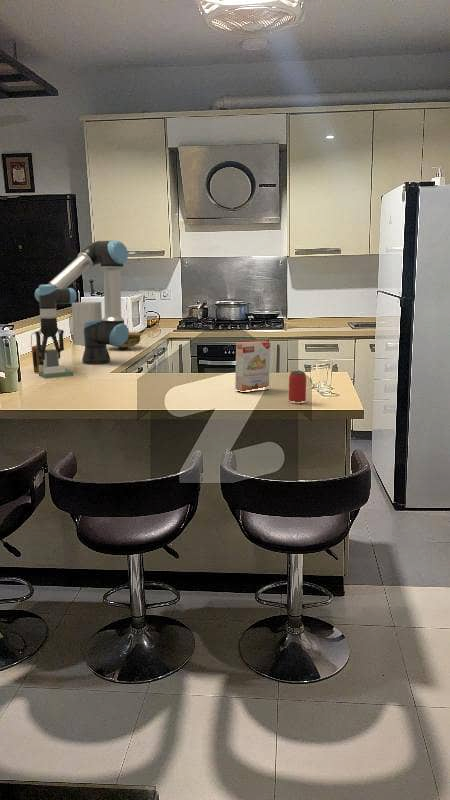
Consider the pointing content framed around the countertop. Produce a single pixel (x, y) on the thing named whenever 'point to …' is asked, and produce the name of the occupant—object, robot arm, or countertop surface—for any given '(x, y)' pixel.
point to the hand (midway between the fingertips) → (51, 365)
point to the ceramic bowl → (130, 341)
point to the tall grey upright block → (84, 318)
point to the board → (54, 371)
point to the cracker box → (252, 365)
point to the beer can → (297, 386)
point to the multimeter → (36, 357)
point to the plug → (52, 357)
